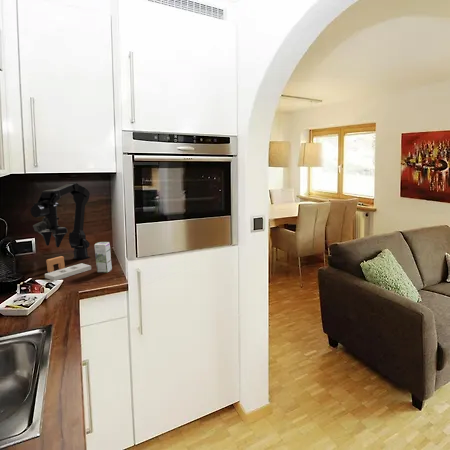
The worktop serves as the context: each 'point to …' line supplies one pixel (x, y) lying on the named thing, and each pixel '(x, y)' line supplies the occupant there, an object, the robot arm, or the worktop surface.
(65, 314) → the worktop surface
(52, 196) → the robot arm
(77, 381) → the worktop surface
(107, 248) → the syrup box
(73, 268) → the rail
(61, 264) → the clip
